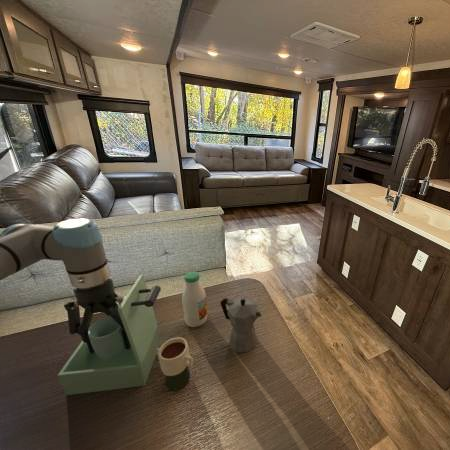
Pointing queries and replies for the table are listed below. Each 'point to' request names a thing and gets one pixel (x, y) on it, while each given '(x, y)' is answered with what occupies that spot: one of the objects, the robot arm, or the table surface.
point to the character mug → (175, 362)
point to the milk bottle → (194, 301)
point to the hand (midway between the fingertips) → (112, 347)
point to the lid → (139, 317)
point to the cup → (106, 338)
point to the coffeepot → (241, 322)
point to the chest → (105, 370)
